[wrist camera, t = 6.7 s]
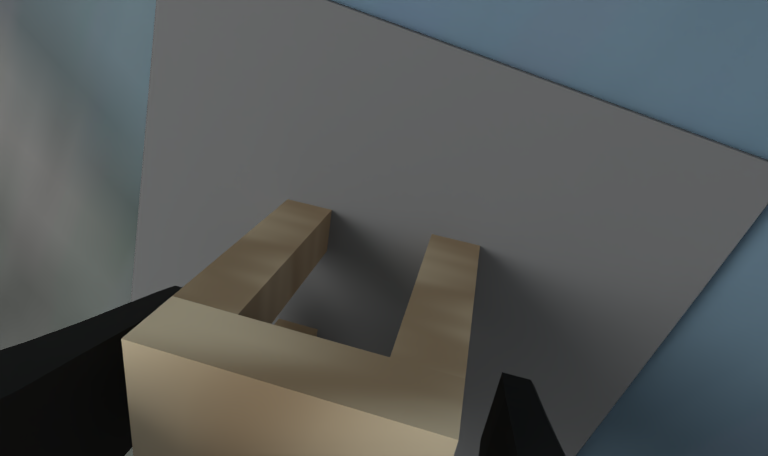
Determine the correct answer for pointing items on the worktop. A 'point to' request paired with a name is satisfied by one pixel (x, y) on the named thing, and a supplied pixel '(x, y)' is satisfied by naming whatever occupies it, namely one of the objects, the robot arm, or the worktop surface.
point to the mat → (435, 193)
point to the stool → (297, 358)
